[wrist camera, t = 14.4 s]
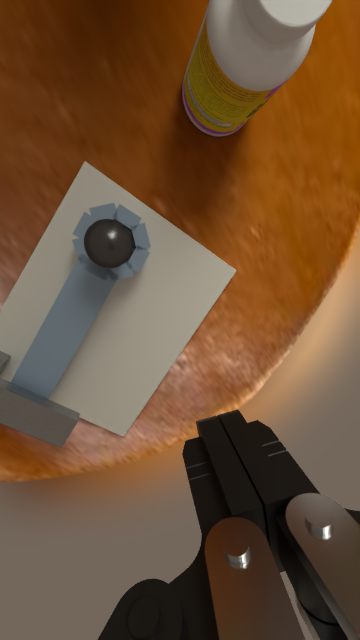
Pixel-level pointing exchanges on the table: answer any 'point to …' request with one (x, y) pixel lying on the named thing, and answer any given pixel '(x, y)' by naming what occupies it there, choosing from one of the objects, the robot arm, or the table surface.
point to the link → (78, 303)
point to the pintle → (108, 243)
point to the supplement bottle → (245, 58)
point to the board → (114, 308)
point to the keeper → (34, 412)
